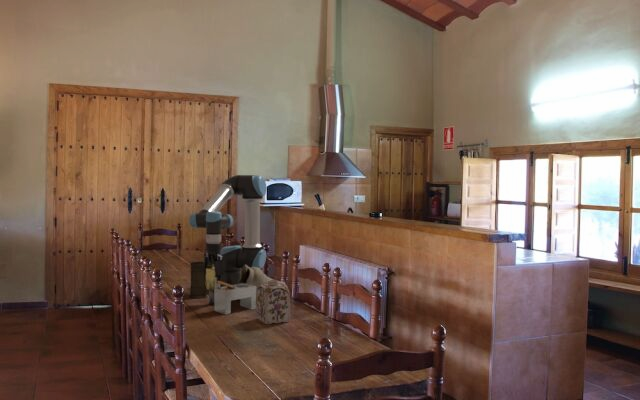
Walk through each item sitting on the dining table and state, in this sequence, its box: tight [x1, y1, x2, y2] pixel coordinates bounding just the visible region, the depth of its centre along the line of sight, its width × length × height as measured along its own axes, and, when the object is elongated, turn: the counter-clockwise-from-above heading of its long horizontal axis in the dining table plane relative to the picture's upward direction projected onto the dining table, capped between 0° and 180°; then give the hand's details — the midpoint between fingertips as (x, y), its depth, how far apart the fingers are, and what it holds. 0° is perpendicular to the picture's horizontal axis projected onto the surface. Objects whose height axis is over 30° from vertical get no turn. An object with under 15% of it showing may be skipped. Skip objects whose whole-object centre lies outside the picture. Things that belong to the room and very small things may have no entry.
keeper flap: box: [217, 281, 235, 288], centre depth 262 cm, size 7×6×1 cm
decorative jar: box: [256, 279, 291, 325], centre depth 247 cm, size 12×12×18 cm
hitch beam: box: [213, 283, 257, 315], centre depth 266 cm, size 18×9×11 cm, turn 135°
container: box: [189, 261, 208, 299], centre depth 293 cm, size 9×9×18 cm
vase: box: [237, 264, 286, 300], centre depth 287 cm, size 22×22×28 cm
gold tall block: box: [206, 266, 216, 306], centre depth 276 cm, size 7×7×18 cm
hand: (213, 288), depth 276 cm, fingers closed on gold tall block, 7 cm apart
